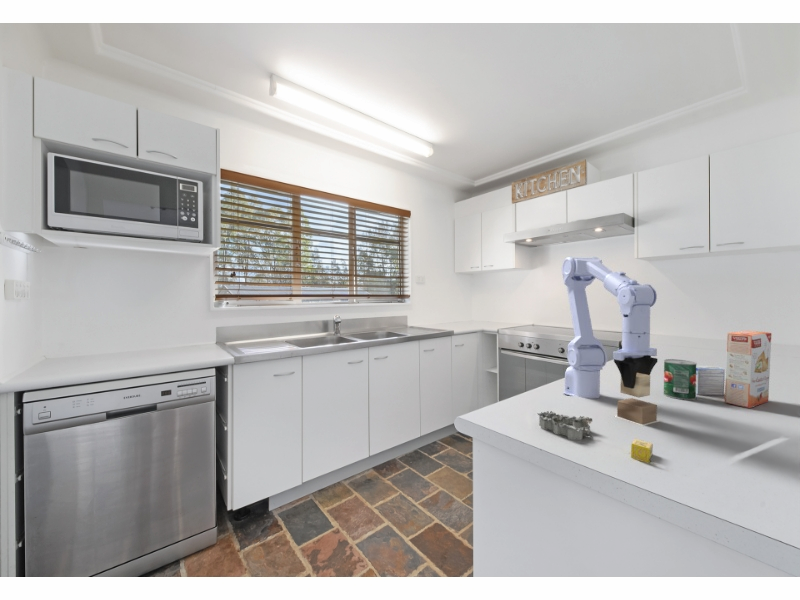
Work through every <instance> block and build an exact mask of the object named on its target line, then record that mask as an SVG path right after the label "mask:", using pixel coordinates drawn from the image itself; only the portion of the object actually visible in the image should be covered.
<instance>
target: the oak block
mask: <svg viewBox="0 0 800 600" xmlns="http://www.w3.org/2000/svg"><path fill="white" fill-rule="evenodd" d="M619 390H620V392H619V393H620V394H624V395H628V396H632V397H636V398H645V397H648V396H651V374H650V375H646V374H641V373H637V374H636V381H635V386H634V388H633V389H631V388H627V387H624V385H623V381H622V377H621V376H620V389H619Z"/></svg>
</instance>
